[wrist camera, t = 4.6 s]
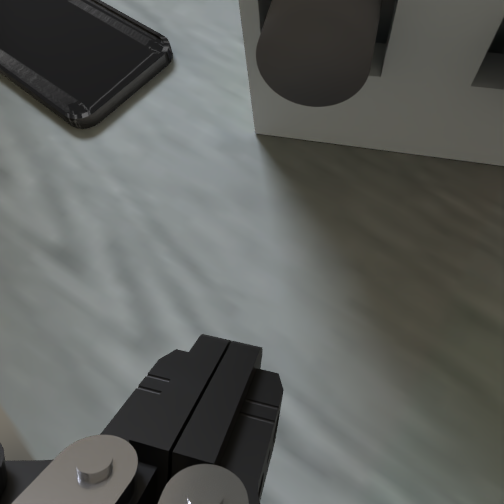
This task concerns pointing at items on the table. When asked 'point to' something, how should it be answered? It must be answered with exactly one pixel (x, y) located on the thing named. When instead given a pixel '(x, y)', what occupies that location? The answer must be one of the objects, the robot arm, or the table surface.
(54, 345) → the table surface
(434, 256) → the table surface
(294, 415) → the table surface
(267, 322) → the table surface
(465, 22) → the console
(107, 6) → the phone
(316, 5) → the button
